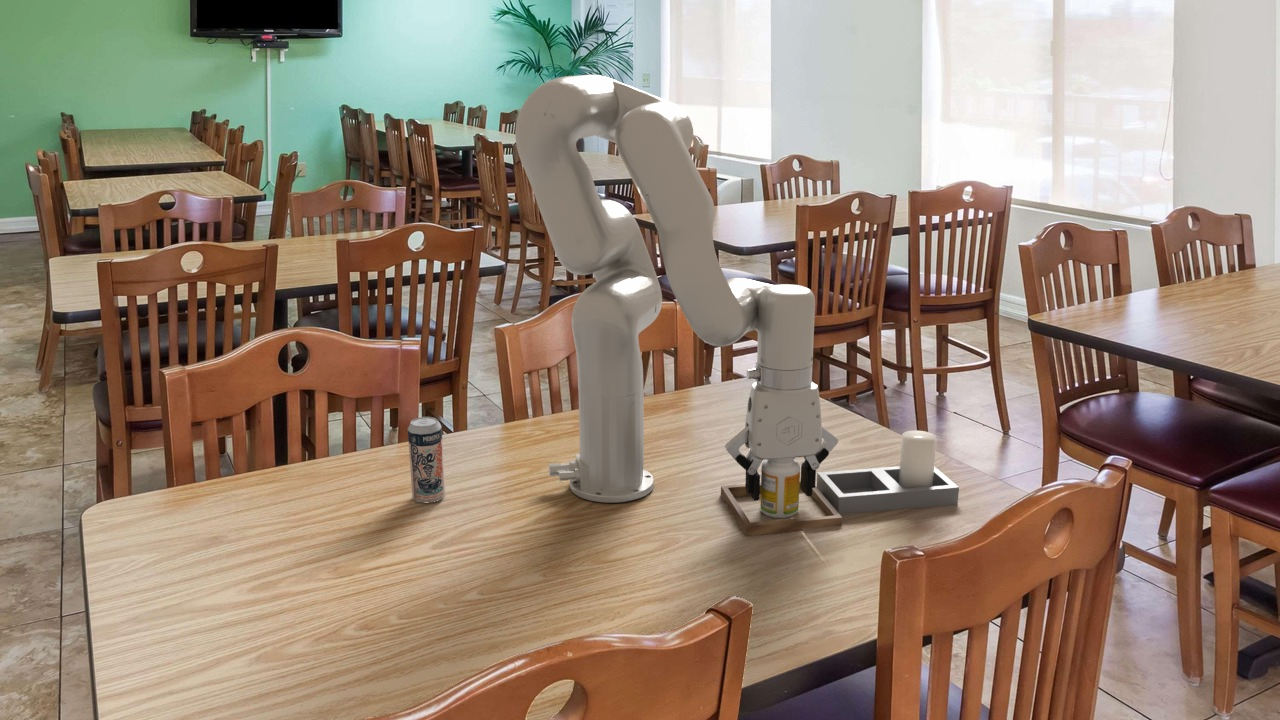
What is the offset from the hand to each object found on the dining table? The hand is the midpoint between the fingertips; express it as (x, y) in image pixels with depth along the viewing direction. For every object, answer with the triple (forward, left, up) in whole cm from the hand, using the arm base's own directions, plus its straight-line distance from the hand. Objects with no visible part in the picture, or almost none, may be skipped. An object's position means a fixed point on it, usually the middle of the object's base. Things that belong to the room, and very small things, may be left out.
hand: (780, 493), depth 153 cm
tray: (0, 0, -3) cm, 3 cm away
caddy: (+16, +1, -3) cm, 17 cm away
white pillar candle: (+21, +1, -2) cm, 21 cm away
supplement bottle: (0, 0, -3) cm, 3 cm away
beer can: (-49, +14, -3) cm, 51 cm away
